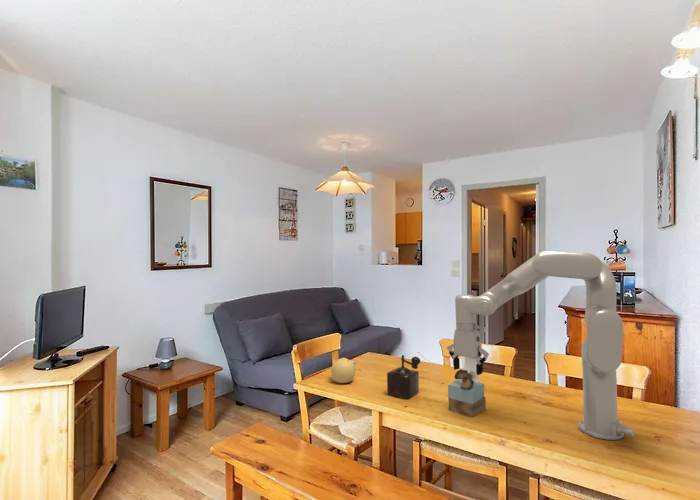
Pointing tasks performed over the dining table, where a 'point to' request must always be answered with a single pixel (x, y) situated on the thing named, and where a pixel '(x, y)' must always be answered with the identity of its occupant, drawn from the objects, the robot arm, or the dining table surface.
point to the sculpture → (343, 370)
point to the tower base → (467, 407)
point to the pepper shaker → (471, 367)
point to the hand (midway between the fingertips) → (467, 371)
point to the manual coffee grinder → (404, 380)
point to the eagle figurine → (465, 378)
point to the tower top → (466, 392)
